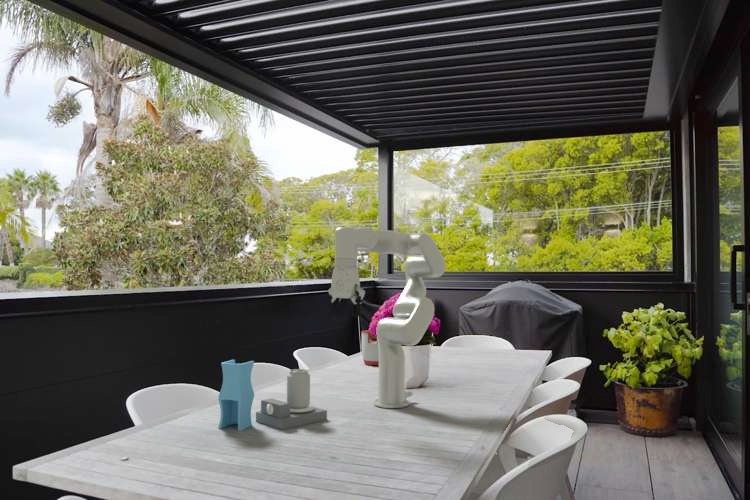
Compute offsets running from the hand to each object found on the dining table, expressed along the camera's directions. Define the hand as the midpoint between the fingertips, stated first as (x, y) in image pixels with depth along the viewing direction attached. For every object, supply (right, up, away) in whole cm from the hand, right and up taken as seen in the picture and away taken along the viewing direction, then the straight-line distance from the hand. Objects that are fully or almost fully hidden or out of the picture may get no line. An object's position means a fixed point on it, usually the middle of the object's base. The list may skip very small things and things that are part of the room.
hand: (346, 315), depth 203 cm
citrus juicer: (+10, -38, +110) cm, 117 cm away
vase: (-34, -33, -14) cm, 49 cm away
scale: (-17, -34, -6) cm, 38 cm away
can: (-16, -30, -4) cm, 34 cm away
